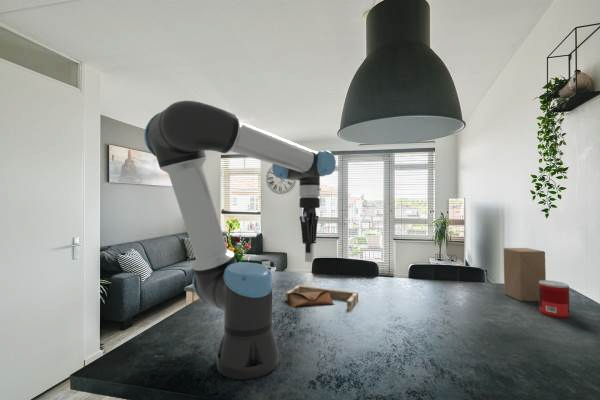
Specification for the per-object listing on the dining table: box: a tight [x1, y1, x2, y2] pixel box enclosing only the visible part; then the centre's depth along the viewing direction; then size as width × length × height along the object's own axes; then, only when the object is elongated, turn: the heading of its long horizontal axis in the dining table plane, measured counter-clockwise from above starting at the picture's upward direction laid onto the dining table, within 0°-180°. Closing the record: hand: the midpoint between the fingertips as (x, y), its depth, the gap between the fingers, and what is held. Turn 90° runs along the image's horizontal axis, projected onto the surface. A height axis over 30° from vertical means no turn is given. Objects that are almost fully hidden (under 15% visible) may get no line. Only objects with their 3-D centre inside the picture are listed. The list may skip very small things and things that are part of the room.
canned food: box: [538, 279, 571, 319], centre depth 101 cm, size 8×8×11 cm
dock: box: [285, 285, 359, 311], centre depth 117 cm, size 12×27×3 cm, turn 66°
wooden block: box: [503, 247, 547, 302], centre depth 119 cm, size 10×10×20 cm
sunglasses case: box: [286, 291, 335, 309], centre depth 114 cm, size 18×7×7 cm
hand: (309, 261), depth 105 cm, fingers closed
